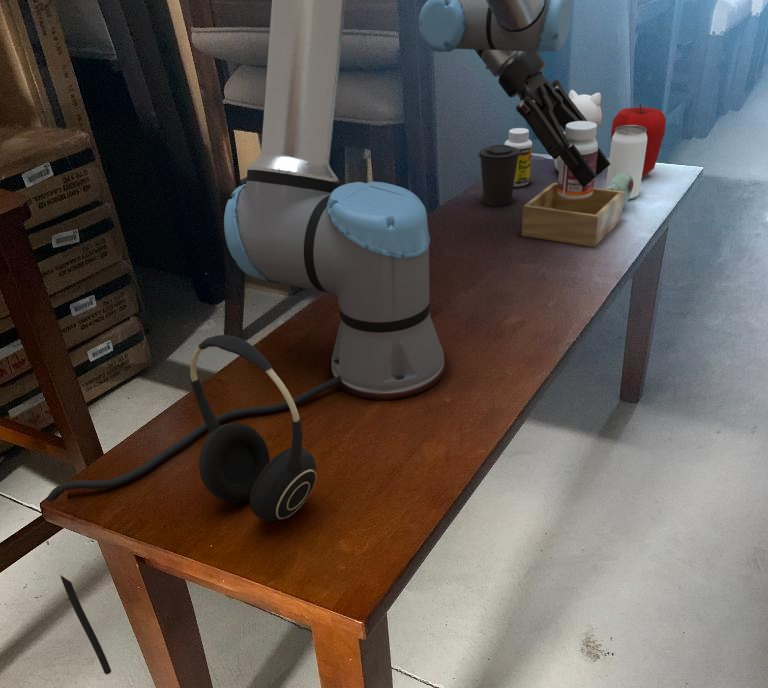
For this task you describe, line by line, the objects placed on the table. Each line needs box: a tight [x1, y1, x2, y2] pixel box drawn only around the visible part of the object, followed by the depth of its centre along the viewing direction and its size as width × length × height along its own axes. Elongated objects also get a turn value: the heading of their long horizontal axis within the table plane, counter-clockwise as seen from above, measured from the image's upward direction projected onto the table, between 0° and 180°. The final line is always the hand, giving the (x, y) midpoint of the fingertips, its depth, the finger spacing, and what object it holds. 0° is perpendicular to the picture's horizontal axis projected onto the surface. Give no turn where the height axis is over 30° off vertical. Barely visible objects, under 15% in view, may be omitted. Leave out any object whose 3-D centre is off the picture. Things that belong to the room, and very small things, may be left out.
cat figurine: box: [553, 89, 603, 172], centre depth 159 cm, size 9×12×15 cm
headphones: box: [189, 334, 317, 522], centre depth 78 cm, size 9×15×20 cm, turn 53°
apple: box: [610, 103, 667, 178], centre depth 155 cm, size 11×10×14 cm
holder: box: [521, 182, 625, 248], centre depth 138 cm, size 14×14×5 cm
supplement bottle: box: [503, 127, 533, 188], centre depth 157 cm, size 6×6×10 cm
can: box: [605, 125, 647, 201], centre depth 147 cm, size 6×6×12 cm
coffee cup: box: [477, 144, 521, 207], centre depth 150 cm, size 8×8×10 cm
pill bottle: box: [557, 121, 599, 199], centre depth 132 cm, size 6×6×11 cm
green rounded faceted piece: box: [605, 172, 633, 206], centre depth 143 cm, size 8×4×7 cm, turn 142°
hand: (596, 175), depth 132 cm, fingers closed on pill bottle, 6 cm apart
